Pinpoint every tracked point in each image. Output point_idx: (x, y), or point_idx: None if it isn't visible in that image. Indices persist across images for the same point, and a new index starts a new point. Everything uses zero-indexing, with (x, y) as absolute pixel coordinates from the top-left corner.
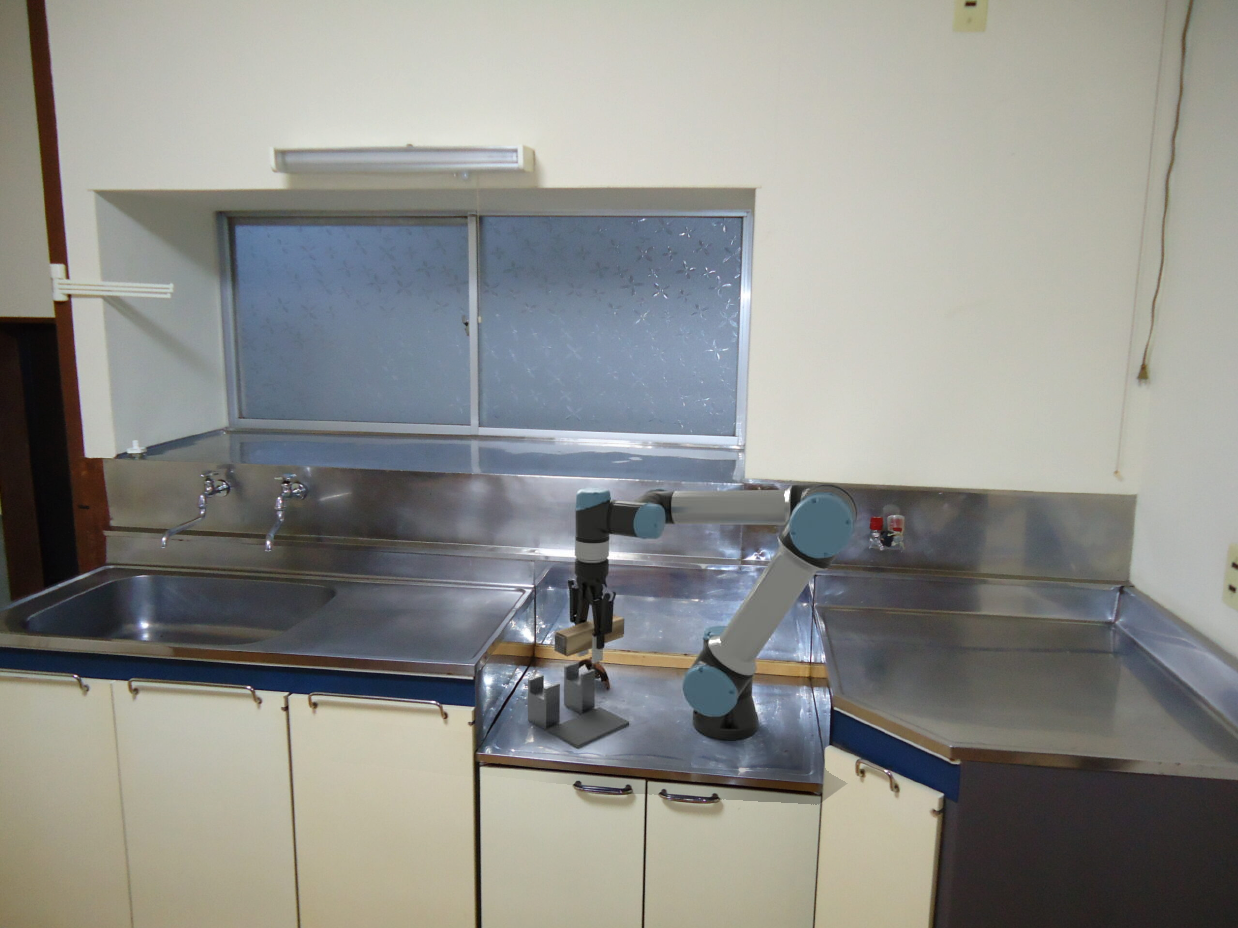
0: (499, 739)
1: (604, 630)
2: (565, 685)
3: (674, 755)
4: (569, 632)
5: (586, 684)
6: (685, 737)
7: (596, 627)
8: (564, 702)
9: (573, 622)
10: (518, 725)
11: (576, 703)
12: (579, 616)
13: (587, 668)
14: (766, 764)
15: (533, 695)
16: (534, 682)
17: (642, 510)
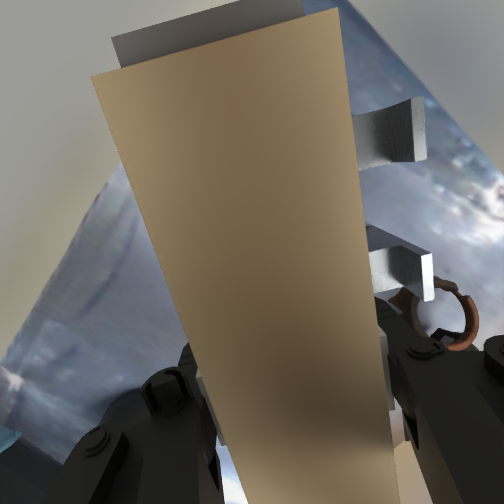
0: (313, 3)
1: (57, 478)
2: (393, 238)
3: (94, 313)
4: (219, 172)
5: None
6: (145, 359)
7: (162, 453)
8: (374, 227)
9: (488, 351)
10: (349, 84)
11: None
12: (449, 441)
13: (456, 332)
14: (19, 415)
15: (369, 112)
16: (404, 121)
17: None
